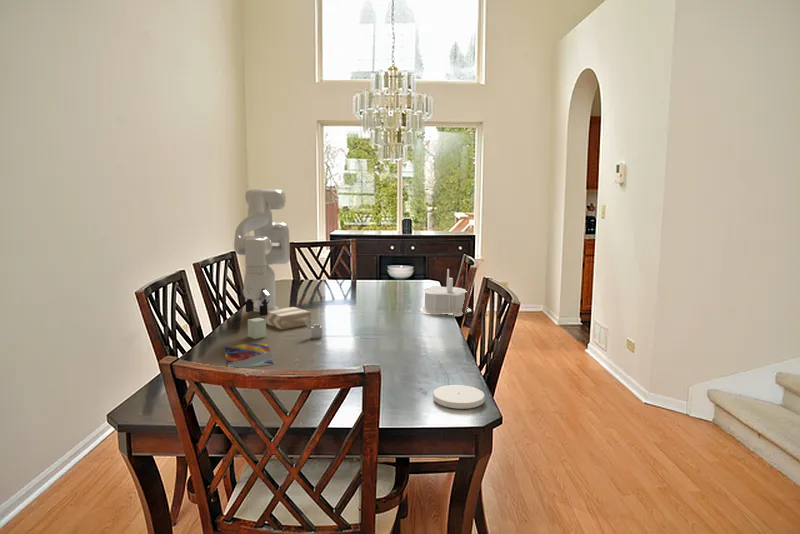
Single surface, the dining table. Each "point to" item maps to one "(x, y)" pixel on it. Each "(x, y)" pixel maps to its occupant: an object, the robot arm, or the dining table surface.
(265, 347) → the relief map
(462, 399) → the plastic lid
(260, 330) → the sage block
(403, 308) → the dining table surface
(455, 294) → the birthday cake
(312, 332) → the lighter
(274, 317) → the birch block
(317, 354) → the dining table surface
